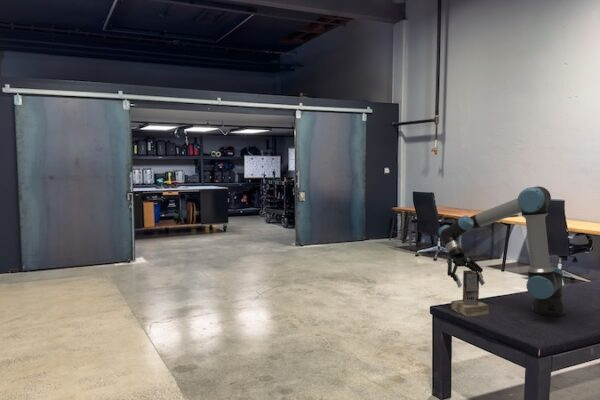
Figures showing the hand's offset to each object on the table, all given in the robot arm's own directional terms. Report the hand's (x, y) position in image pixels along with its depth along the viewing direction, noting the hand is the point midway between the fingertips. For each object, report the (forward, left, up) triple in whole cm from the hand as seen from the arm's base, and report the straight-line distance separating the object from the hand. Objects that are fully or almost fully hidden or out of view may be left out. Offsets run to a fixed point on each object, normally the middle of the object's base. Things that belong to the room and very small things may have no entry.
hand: (471, 285), depth 245 cm
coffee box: (+2, -1, -10) cm, 10 cm away
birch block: (+1, 0, -15) cm, 15 cm away
